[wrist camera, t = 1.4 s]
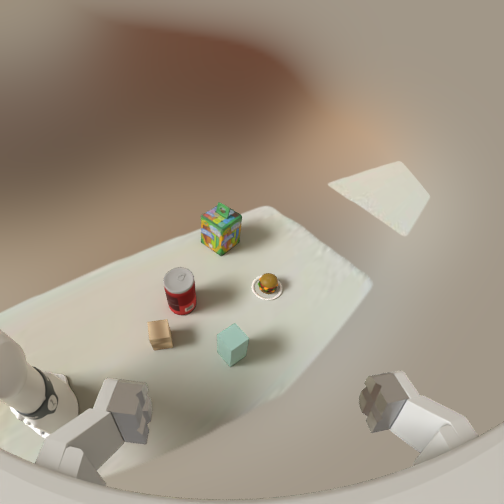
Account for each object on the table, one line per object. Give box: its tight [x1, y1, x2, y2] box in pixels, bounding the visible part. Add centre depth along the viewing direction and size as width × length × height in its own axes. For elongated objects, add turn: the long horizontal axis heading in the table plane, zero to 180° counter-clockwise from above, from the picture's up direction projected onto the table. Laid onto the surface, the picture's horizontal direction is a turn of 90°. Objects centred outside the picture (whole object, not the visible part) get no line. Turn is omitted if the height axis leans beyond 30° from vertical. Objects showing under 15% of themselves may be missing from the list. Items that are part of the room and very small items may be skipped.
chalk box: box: [201, 203, 242, 256], centre depth 91 cm, size 9×9×15 cm
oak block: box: [148, 319, 173, 350], centre depth 69 cm, size 5×5×6 cm
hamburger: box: [252, 273, 282, 300], centre depth 84 cm, size 12×12×6 cm
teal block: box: [217, 323, 249, 367], centre depth 67 cm, size 5×5×10 cm
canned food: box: [164, 267, 196, 315], centre depth 75 cm, size 8×8×11 cm
